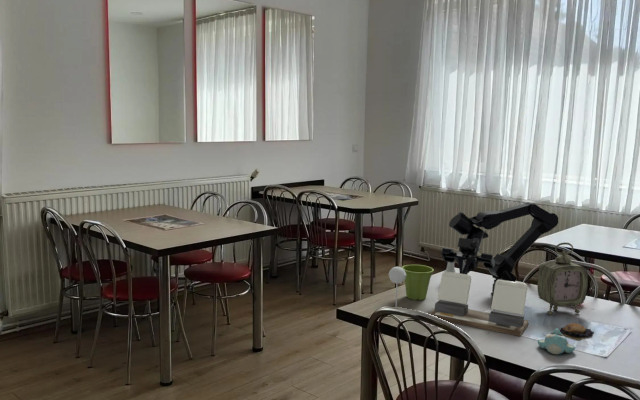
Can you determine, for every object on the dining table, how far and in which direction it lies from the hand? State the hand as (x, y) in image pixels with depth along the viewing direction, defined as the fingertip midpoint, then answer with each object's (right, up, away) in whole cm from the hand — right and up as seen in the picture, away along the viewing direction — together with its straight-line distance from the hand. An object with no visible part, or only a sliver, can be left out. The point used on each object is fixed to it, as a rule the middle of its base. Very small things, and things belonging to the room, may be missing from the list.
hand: (461, 277), depth 206 cm
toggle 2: (+10, -9, -18) cm, 23 cm away
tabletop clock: (+34, -12, -2) cm, 36 cm away
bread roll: (+31, -15, -22) cm, 41 cm away
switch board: (+2, -13, -13) cm, 18 cm away
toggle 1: (-5, -8, -9) cm, 13 cm away
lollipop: (-23, -11, 0) cm, 26 cm away
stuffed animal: (+19, -17, -35) cm, 44 cm away
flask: (+3, -7, +31) cm, 32 cm away
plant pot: (-14, -9, +12) cm, 21 cm away
